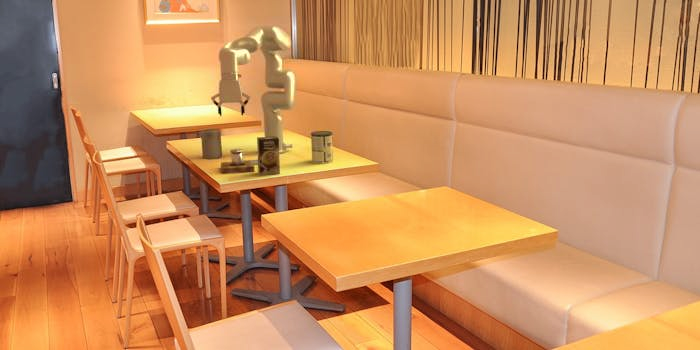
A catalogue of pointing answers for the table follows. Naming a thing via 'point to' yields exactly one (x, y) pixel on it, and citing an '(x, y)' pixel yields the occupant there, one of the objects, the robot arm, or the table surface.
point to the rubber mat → (253, 161)
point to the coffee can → (321, 147)
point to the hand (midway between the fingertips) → (231, 115)
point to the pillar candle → (211, 143)
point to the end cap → (237, 157)
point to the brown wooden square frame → (237, 167)
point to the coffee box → (268, 155)
